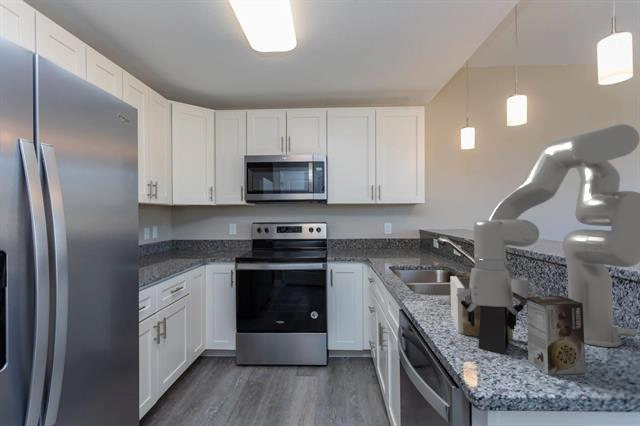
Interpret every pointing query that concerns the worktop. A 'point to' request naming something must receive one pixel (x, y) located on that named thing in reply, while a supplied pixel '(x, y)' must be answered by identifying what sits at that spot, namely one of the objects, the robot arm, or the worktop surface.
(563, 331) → the coffee box
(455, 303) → the wall frame
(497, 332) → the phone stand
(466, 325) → the door
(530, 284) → the cup
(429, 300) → the worktop surface
